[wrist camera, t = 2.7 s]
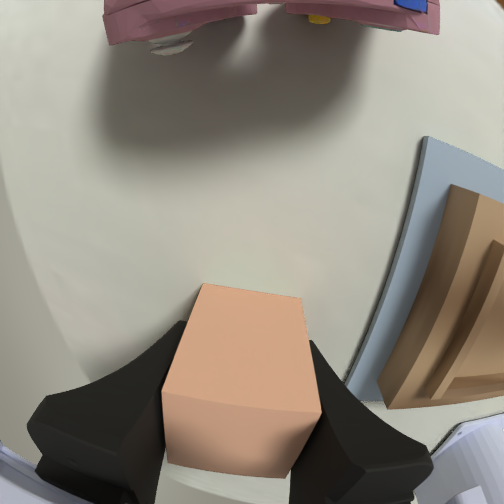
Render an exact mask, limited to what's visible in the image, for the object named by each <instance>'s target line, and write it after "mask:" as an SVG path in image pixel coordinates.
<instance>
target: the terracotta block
mask: <svg viewBox="0 0 504 504" xmlns="http://www.w3.org/2000/svg"><path fill="white" fill-rule="evenodd" d="M162 405H163V419H164V431H165V441H166V451H167V460H168V463H171V464H175V465H180V466H184V467H189V468H195V469H200V470H206V471H212V472H219V473H226V474H234V475H242V476H253V477H265V478H283V479H285V478H286V476H287V475H288V473H289V471H290V470H291V468H292V466H293V465H294V463H295V461H296V460H297V458H298V456H299V454H300V453H301V451H302V449H303V447H304V445H305V444H306V442H307V440H308V438H309V436H310V434H311V433H312V431H313V429H314V427H315V425H316V423H317V421H318V419H319V417H320V415H321V413H322V411H321V405H320V399H319V393H318V388H317V382H316V376H315V371H314V365H313V360H312V354H311V349H310V344H309V338H308V333H307V328H306V323H305V318H304V313H303V308H302V303H301V298H295V297H288V296H281V295H274V294H267V293H261V292H254V291H248V290H242V289H235V288H229V287H223V286H217V285H211V284H205V283H203V285H202V288H201V290H200V293H199V295H198V298H197V300H196V303H195V305H194V308H193V310H192V313H191V315H190V318H189V320H188V323H187V325H186V328H185V330H184V333H183V336H182V338H181V341H180V343H179V346H178V349H177V351H176V354H175V356H174V359H173V362H172V364H171V367H170V370H169V372H168V375H167V378H166V380H165V383H164V386H163V389H162Z"/></svg>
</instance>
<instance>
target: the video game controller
mask: <svg viewBox="0 0 504 504" xmlns="http://www.w3.org/2000/svg"><path fill="white" fill-rule="evenodd" d="M265 3H269V4H283V3H285V4H286V13H288V14H306V15H308V19H309V21H310V22H311V23H315V24H327V23H329V22H330V18H338V19H347V20H354V21H356V22H358V23H360V24H361V25H363V26H366V27H372V28H378V29H384V30H390V31H397V32H401V31H402V30H406V29H408V30H413V31H418V32H423V33H429V34H435V35H439V30H440V3H439V0H104V14H103V16H102V17H103V21H104V25H105V30H106V34H107V38H108V42H109V45H115V44H119V43H122V42H126V41H149V42H151V43H157V44H162V46H160V47H156V48H154V49H152V50H151V51H150V52H152V53H154V54H158V55H163V56H167V55H172V54H177V53H180V52H183V51H184V49H186V48H188V47H189V46H190V45H191V44H193V41H192V40H188V41H181V42H180V40H181V39H183V38H184V37H186V36H187V35H189V34H190V33H191V32H192V31H193V30H196V29H198V28H200V27H201V26H203V25H205V24H206V23H208V22H213V21H218V20H223V19H227V18H231V17H237V16H244V15H252V14H256V13H257V4H265Z"/></svg>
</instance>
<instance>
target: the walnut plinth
mask: <svg viewBox="0 0 504 504" xmlns="http://www.w3.org/2000/svg"><path fill="white" fill-rule="evenodd" d="M377 384H378V386H379V389H380V392H381V394H382V397H383V400H384V402H385V405H386V408H387V409H406V408H420V407H431V406H441V405H449V404H457V403H464V402H471V401H477V400H483V399H488V398H493V397H498V396H503V395H504V204H503V203H501V202H498V201H496V200H494V199H491V198H489V197H487V196H484V195H482V194H479V193H476V192H474V191H471V190H468V189H465V188H462V187H459V186H456V185H453V184H451V185H450V189H449V193H448V197H447V202H446V205H445V209H444V213H443V217H442V220H441V224H440V227H439V231H438V234H437V238H436V241H435V244H434V247H433V250H432V253H431V256H430V259H429V262H428V265H427V268H426V271H425V274H424V277H423V279H422V282H421V285H420V287H419V290H418V293H417V295H416V298H415V300H414V303H413V305H412V308H411V310H410V312H409V315H408V317H407V319H406V322H405V324H404V326H403V329H402V331H401V333H400V335H399V337H398V340H397V342H396V344H395V346H394V348H393V350H392V352H391V354H390V356H389V358H388V360H387V362H386V364H385V366H384V368H383V370H382V372H381V374H380V376H379V378H378V380H377Z"/></svg>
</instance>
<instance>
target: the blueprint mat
mask: <svg viewBox="0 0 504 504" xmlns="http://www.w3.org/2000/svg"><path fill="white" fill-rule="evenodd" d="M451 184H453V185H456V186H459V187H462V188H465V189H468V190H471V191H474V192H476V193H479V194H482V195H484V196H487V197H489V198H491V199H494V200H496V201H498V202H501V203H503V204H504V170H503V169H501V168H499V167H497V166H495V165H493V164H491V163H489V162H487V161H485V160H483V159H481V158H479V157H477V156H474V155H472V154H470V153H468V152H466V151H463V150H461V149H459V148H457V147H454V146H452V145H449V144H447V143H445V142H442V141H440V140H437V139H435V138H432V137H429V136H424V138H423V144H422V149H421V155H420V160H419V165H418V170H417V174H416V179H415V183H414V188H413V192H412V196H411V200H410V204H409V208H408V212H407V216H406V220H405V224H404V227H403V231H402V234H401V238H400V241H399V244H398V248H397V251H396V254H395V257H394V261H393V264H392V267H391V270H390V273H389V276H388V279H387V282H386V285H385V287H384V290H383V293H382V296H381V299H380V301H379V304H378V307H377V309H376V312H375V315H374V317H373V320H372V322H371V325H370V327H369V330H368V332H367V335H366V337H365V339H364V342H363V344H362V346H361V349H360V351H359V353H358V356H357V358H356V360H355V362H354V365H353V367H352V369H351V371H350V373H349V375H348V378H347V380H346V382H345V384H344V385H345V386H346V387H347V388H348V389H349V390H350V392H351V393H352V394H353V395H354V396H355V397H356V398H357V399H358V400H359V401H380V400H383V397H382V394H381V392H380V389H379V386H378V384H377V380H378V378H379V376H380V374H381V372H382V370H383V368H384V366H385V364H386V362H387V360H388V358H389V356H390V354H391V352H392V350H393V348H394V346H395V344H396V342H397V340H398V337H399V335H400V333H401V331H402V329H403V326H404V324H405V322H406V319H407V317H408V315H409V312H410V310H411V308H412V305H413V303H414V300H415V298H416V295H417V293H418V290H419V287H420V285H421V282H422V279H423V277H424V274H425V271H426V268H427V265H428V262H429V259H430V256H431V253H432V250H433V247H434V244H435V241H436V238H437V234H438V231H439V227H440V224H441V220H442V217H443V213H444V209H445V205H446V202H447V197H448V193H449V189H450V185H451Z"/></svg>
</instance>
